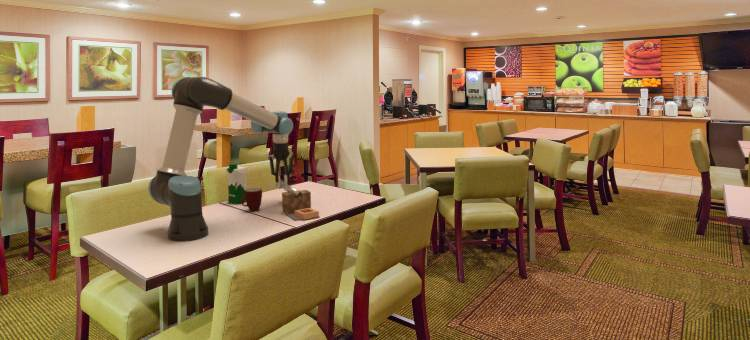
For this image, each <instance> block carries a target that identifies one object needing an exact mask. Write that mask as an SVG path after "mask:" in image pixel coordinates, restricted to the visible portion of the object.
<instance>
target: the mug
mask: <svg viewBox="0 0 750 340" xmlns="http://www.w3.org/2000/svg"><path fill="white" fill-rule="evenodd" d="M262 198H263V190H262V188H259V187H252V188H251V187H250V188H247V189H245V196H244V197H242V199H241V205H242V206H243V207H247V208H248V210H250V212H256V211H259V209H260V207H261V205H262V201H263V200H262ZM244 199H246V202H245V203H246V204H245V203H243V200H244Z"/></svg>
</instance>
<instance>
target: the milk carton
mask: <svg viewBox="0 0 750 340" xmlns="http://www.w3.org/2000/svg"><path fill="white" fill-rule="evenodd" d="M247 172H248V167H245V166H240V165H239V166H238V163H230V164H228V167H226V168H225V173H226V177H227V188H228V189H227V190H228V198H227V199H228V200H227V203H229V204H234V205H240V204H241V199H242V197H244V196H245V189H248V187H247V186H248V185H247ZM245 203H246V199H244V200H243V204H245ZM241 205H242V204H241Z"/></svg>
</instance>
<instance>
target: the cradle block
mask: <svg viewBox="0 0 750 340" xmlns="http://www.w3.org/2000/svg"><path fill="white" fill-rule="evenodd" d="M298 191H299V192H300V196H299V197H295V196H294V194H293V193H292V192H287V191H283V192H281V202H282V203H281V204H282V213H283V214H285V215H286V216H287V214H292V213H295V210H300V209H306V208H312V195H311V193H312V192H311V191H309V190H307V189H302V190H300V189H299V190H298Z"/></svg>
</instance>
